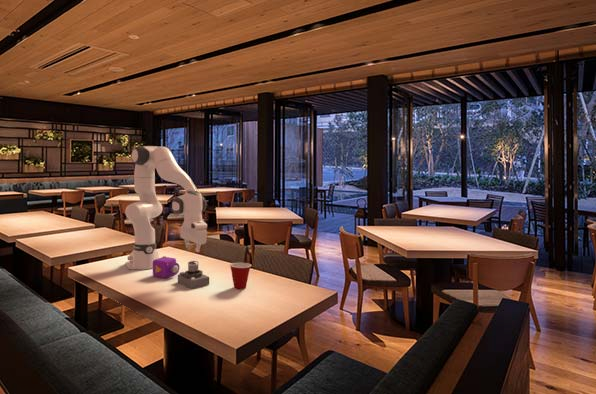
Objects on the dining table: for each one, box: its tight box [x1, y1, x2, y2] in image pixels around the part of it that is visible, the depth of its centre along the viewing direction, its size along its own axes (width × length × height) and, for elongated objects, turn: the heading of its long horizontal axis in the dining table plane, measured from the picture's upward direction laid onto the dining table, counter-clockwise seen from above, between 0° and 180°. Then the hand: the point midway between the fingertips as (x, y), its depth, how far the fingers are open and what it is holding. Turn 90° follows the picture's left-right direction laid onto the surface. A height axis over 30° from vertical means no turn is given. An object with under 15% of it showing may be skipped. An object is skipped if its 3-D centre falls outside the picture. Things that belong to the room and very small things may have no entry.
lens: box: [187, 260, 199, 274], centre depth 189 cm, size 5×5×7 cm
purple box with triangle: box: [152, 255, 181, 279], centre depth 202 cm, size 11×14×10 cm
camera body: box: [177, 269, 210, 290], centre depth 190 cm, size 14×10×6 cm
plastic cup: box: [229, 262, 252, 290], centre depth 184 cm, size 11×11×12 cm
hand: (192, 249), depth 189 cm, fingers open, 8 cm apart
